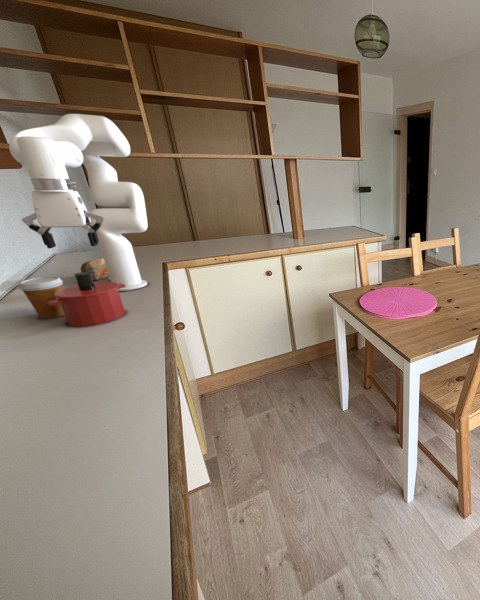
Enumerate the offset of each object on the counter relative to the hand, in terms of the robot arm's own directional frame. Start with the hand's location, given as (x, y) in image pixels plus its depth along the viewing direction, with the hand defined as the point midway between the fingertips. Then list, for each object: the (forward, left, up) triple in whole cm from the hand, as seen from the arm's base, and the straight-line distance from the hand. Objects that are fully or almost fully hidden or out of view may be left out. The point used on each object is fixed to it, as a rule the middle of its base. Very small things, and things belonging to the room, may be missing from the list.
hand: (73, 246), depth 94 cm
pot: (0, 0, -24) cm, 24 cm away
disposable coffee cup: (-16, -4, -24) cm, 29 cm away
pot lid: (0, 0, -14) cm, 14 cm away
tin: (-48, +28, -24) cm, 61 cm away
